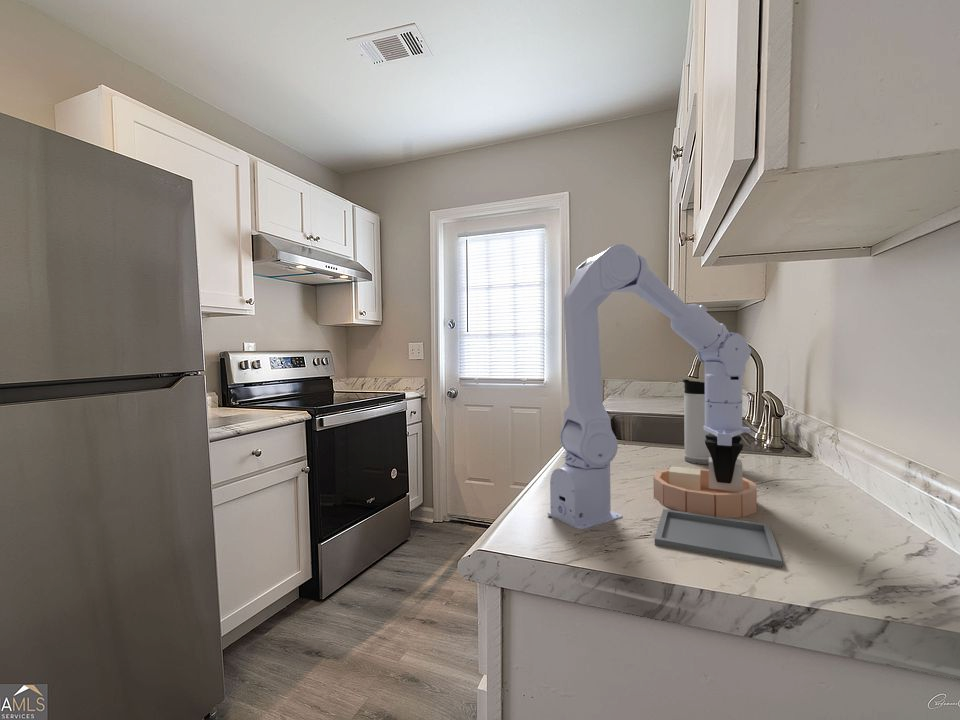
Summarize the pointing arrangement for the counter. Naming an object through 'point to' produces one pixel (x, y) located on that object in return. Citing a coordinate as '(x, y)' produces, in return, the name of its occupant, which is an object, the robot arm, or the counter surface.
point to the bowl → (706, 497)
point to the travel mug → (695, 423)
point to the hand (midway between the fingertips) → (723, 478)
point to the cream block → (685, 478)
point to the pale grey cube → (734, 486)
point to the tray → (718, 537)
